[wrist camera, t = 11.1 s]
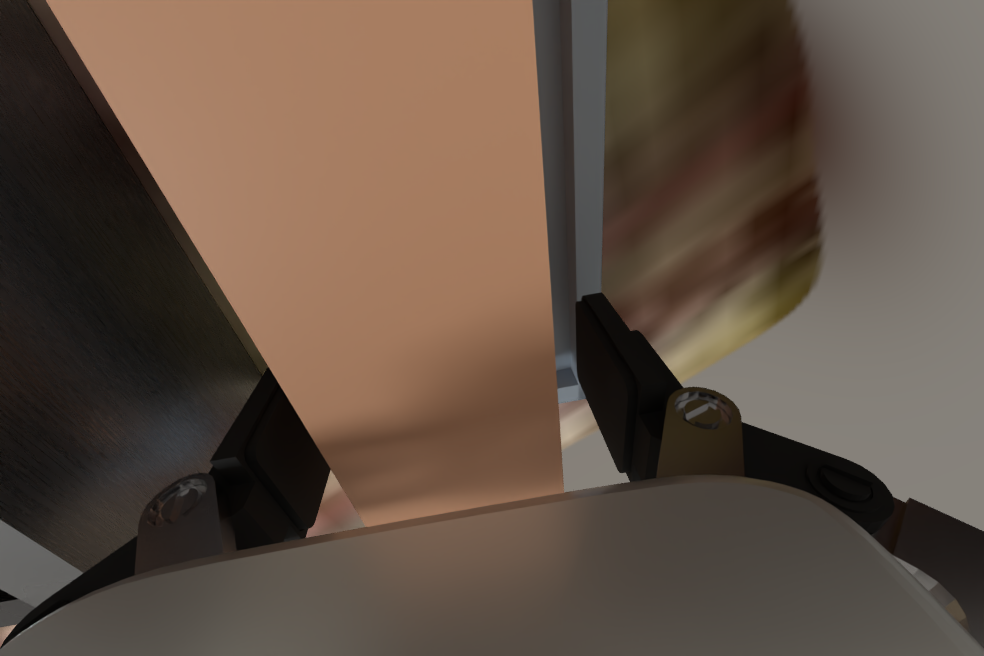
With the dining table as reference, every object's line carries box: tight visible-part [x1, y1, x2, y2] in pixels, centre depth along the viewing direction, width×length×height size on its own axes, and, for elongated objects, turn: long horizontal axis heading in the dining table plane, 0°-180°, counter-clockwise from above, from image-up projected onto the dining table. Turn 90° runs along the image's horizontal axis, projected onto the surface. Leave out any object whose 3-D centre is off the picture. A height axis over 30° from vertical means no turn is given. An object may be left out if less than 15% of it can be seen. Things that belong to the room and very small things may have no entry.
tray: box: [532, 0, 608, 404], centre depth 11 cm, size 16×10×2 cm, turn 8°
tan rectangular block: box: [46, 0, 564, 527], centre depth 9 cm, size 13×5×6 cm, turn 8°
